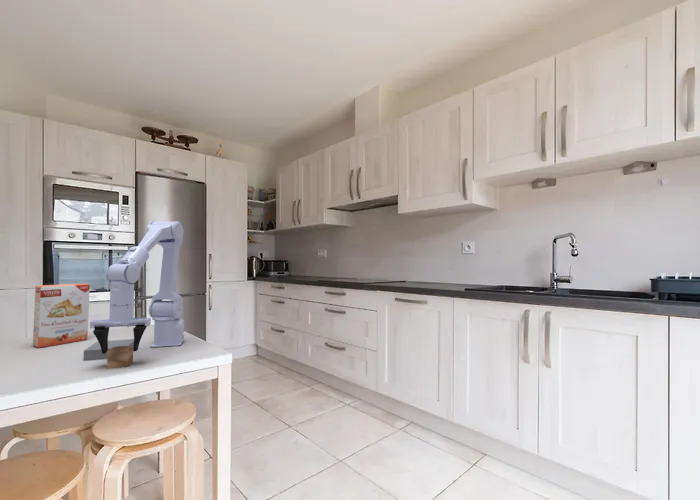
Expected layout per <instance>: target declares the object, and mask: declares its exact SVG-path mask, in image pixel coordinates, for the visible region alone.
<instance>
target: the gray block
mask: <svg viewBox="0 0 700 500" xmlns="http://www.w3.org/2000/svg"><path fill="white" fill-rule="evenodd" d="M129 345H133V347H134V338H133V339H132V338H131V339H115V340H108V350H110V349H111V348H112V347H114V346H129ZM99 360H107V352H106V353H105V354H102V350H101V347H100V344H99V341H98V340H97V341H96V342H95V343H92V345H90V346H88V347H87V348H85V349H84V350H83V360H82V361H83V362H86V361H88V362H89V361H99Z"/></svg>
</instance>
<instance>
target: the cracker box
mask: <svg viewBox="0 0 700 500" xmlns="http://www.w3.org/2000/svg"><path fill="white" fill-rule="evenodd" d="M90 286H91V285H90V284H89V283H62V284H61V283H59V284H44V285H41V284H40V285H35V287H34V288H35V289H34V290H35V291H34V307H33V309H34V311H33V315H34V316H33V329H32V330H33V331H32V346H34V347H36V348H37V349H41V348H46V347H51V346H57V345H58V346H59V345H63V344H70V343H75V342H81V341H82V342H83V341H87V340H88V334H89V333H88V331H89V312H90V310H89V309H90Z"/></svg>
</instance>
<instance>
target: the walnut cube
mask: <svg viewBox="0 0 700 500" xmlns="http://www.w3.org/2000/svg"><path fill="white" fill-rule="evenodd" d="M133 362H134V351H133V345H129V346H114V347H112V348H111V349H110V350H108V351H107V359H106V369H107V370H109V369H121V368H122V367H123V368H128V367H130V366H131V364H132V363H133Z"/></svg>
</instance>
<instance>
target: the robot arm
mask: <svg viewBox="0 0 700 500" xmlns="http://www.w3.org/2000/svg"><path fill="white" fill-rule="evenodd" d="M183 241H184V227H183V226H182V224H181V222H180V221H177V220H176V221H159V220H158V221H157V220H151V221H150V222H149V223H148V225H147V226H146V234H145V235H144V237H143V238H142V239H141V241H140V242H139V243H138V245H137V246H136V245H134V246H132V247H130V248H129V249H128V251H127V252H126V253H125V254H124V255H123V256H122V257H121V259H120V260H118V262H117V263H113V264H111V265H110V266H108V268H107V269H106V273H105V275H104V277H105V280H106V281H107V287H108V289H109V318H108V319H107V318H106V319H97V320H95V319H94V320H92V321H90V322H89V329H94V330H93V331H92V332H93V335H94V336H95V338H96V339H97V342H98V341H99V344H100V347H101V350H102V354H105V353H106V352H107V351H108V341H109V333H110V328H114V327H115V328H119V327H133V329H132V330H133V339H134V347H133V352H137V351H138V350H139V346H140V342H141V339H142V337H143V335H144V333H145V331H146V330H147V327H149V326H150V325H151V323H152V322H151V321H154V322H153V323H154V324H153V325H154V327H153V329H154V330H153V342H152V344H151V345H150V348H159V347H161V348H163V347H174V346H176V347H177V346H181V345H182V343H183V342H184V341H185V334H184V333H185V320H184V318H181V316H182V315H183V312H184V304H183V301H184V300H183V297H182V296H181V295H180V294H178V293H177V292H176V288H177V278H178V267H179V255H180V248H181V246H182V245H183ZM156 245H159V246H161V247H162V249H163V251H162V260H161V271H160V281H159V289H158V290H159V291H158V292H157V293H156V294H154V295H153V296H152V297H151V302H150V303H149V306H148V314H149V317H134V305H135V300H134V299H135V283H136V282H137V281H138V280H139V278H140V273H141V271H142V267H143V266H144V265H145V263H147V262H148V260H149V258H150V253H149V252H150V251H151V250H152V249H153V248H154V247H155V246H156ZM151 318H152V320H151Z"/></svg>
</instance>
